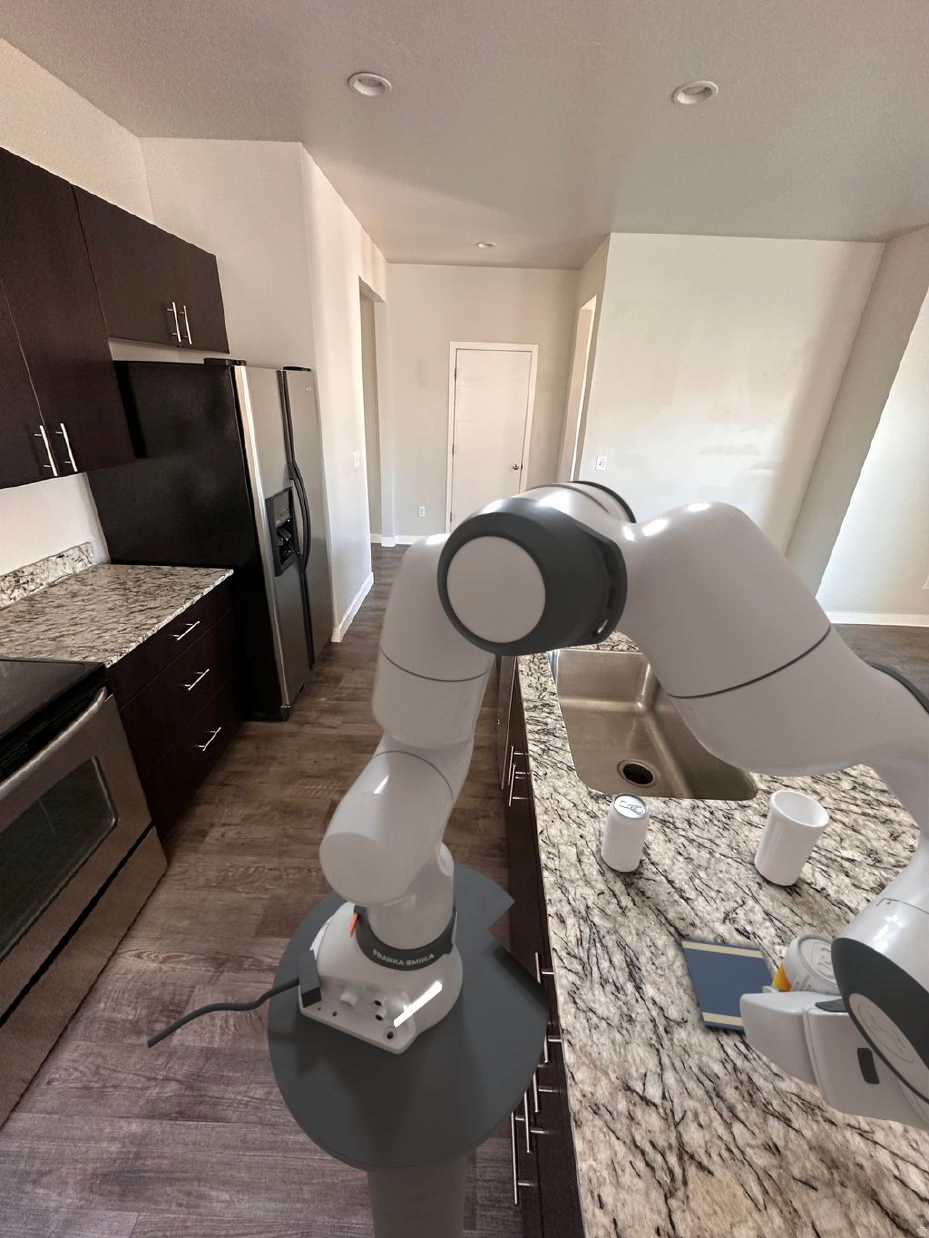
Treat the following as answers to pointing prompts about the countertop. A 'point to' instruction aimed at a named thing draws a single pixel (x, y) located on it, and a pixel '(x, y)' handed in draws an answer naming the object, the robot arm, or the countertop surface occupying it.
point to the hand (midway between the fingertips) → (802, 992)
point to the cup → (789, 836)
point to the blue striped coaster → (724, 979)
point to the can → (625, 832)
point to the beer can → (807, 966)
